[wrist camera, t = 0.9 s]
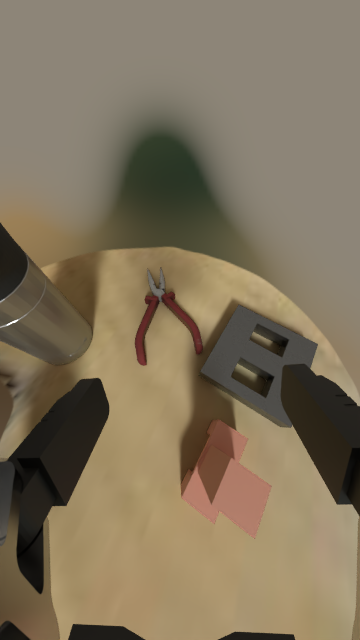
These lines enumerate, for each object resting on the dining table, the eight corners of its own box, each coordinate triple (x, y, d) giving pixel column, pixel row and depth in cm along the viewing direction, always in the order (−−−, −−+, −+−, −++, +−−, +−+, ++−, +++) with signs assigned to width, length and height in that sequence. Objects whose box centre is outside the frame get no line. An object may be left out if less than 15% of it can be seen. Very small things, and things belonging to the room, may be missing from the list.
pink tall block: (180, 484, 26) (184, 551, 13) (212, 419, 30) (241, 418, 16) (207, 506, 25) (242, 601, 12) (237, 436, 29) (289, 449, 15)
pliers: (180, 268, 44) (180, 259, 41) (204, 355, 35) (206, 350, 32) (128, 276, 42) (125, 267, 40) (138, 368, 33) (136, 364, 31)
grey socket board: (198, 375, 32) (200, 371, 30) (234, 312, 38) (238, 304, 35) (280, 427, 29) (291, 427, 27) (307, 350, 35) (317, 344, 32)
